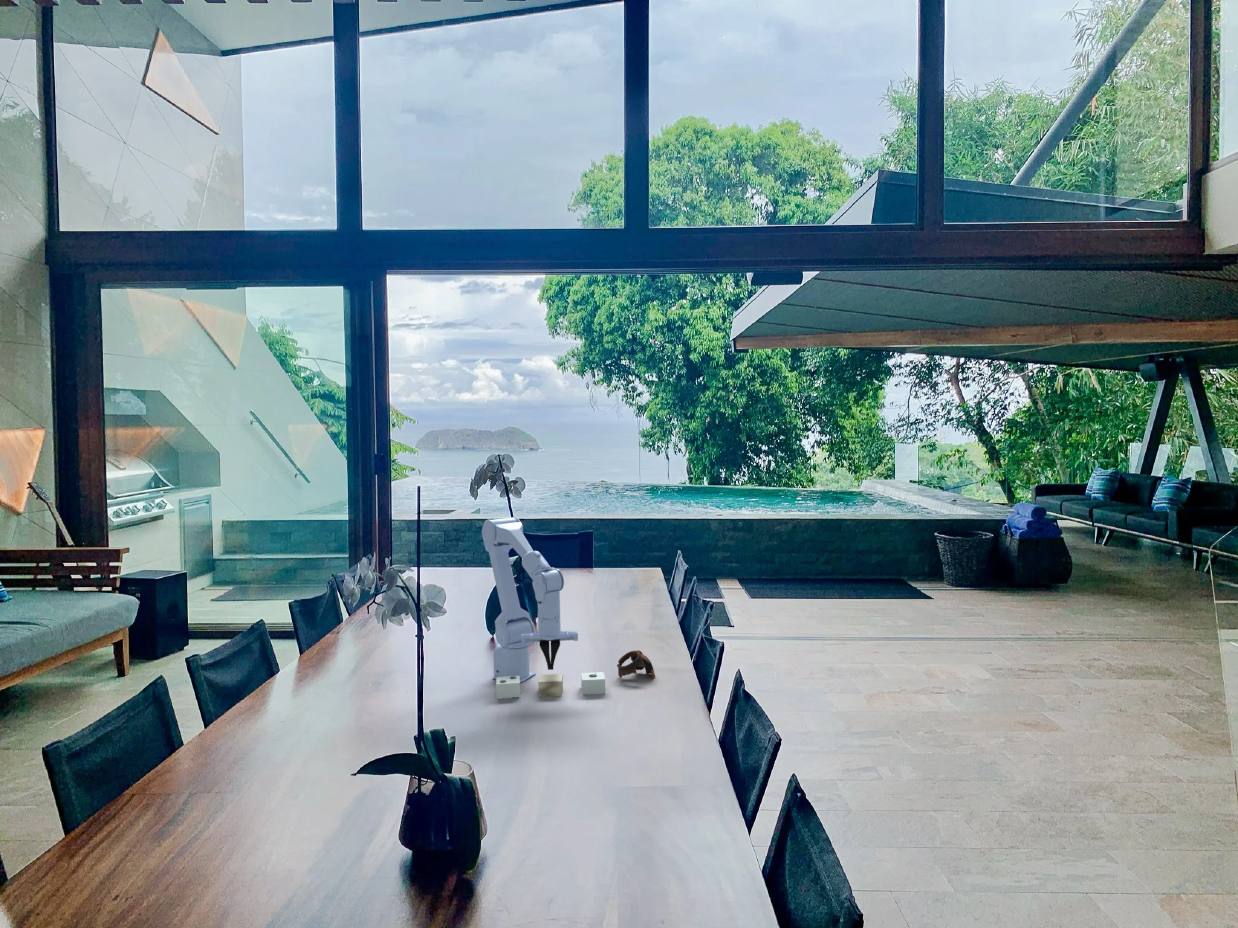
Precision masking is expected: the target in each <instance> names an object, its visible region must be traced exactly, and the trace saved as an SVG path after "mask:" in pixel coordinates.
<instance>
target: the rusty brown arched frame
mask: <svg viewBox="0 0 1238 928" xmlns="http://www.w3.org/2000/svg"><path fill="white" fill-rule="evenodd" d="M629 659H630V660H631V661H632V662H630V663H629V664H627V665H623V664H624V663H625V662H626V661H627V660H629ZM617 662H618V663H617V665H616V667H617V673H618V676H619V678H622V677H623V676H624V677H625V676H627V675H631V674H635V675H638V673H637V671H643V670H645V674H647V675H648V674H650V675H651V678H652V680H654V679H655V678H656V674H655V669H654V666H653V664H652V662H651V660H650V659H649V657H648V656H646V655H645V654H643V652H642V651H641V650H639V649H637V650H631V651H629V652H626V653H625V654H624V655H622V656H621V657H620V658H619V659H618V661H617Z"/></svg>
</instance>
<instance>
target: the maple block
mask: <svg viewBox="0 0 1238 928" xmlns="http://www.w3.org/2000/svg"><path fill="white" fill-rule="evenodd" d="M538 678H539V679H538V682H537V684H538V685H537V686H538V697H563V691H564V675H563V673H562V674H561V673H560V674H559V673H555V674H554V673H553V674H552V673H551V674H540V675H539V677H538Z"/></svg>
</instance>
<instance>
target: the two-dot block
mask: <svg viewBox="0 0 1238 928" xmlns="http://www.w3.org/2000/svg"><path fill="white" fill-rule="evenodd" d="M495 681H496V683H495V684H496V685H495V686H496V688H495V689H496V699H497V700H501V699H503V698H504V699H513V698H512V697H519V698H521V682H520V676H506V677H497V678H496V679H495ZM504 699H503V700H504Z"/></svg>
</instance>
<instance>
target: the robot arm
mask: <svg viewBox="0 0 1238 928" xmlns="http://www.w3.org/2000/svg"><path fill="white" fill-rule="evenodd" d="M481 535H482V540H483V544H484V545H483V546H484V548H485V549H484V550H485V551H486V552H487V553H488V555H489V559H490V564H491V568H492V572H493V577H494V581H495V586H496V591H497V595H498V599H499V604H500V608H501V613H500V614H499V615H498V616H497V618H496V619H495V620H494V627H495V632H494V633H495V638H496V639H495V640H496V642H497V643H498V644H497V645H496V646H495V647H494V651H493V657H492V658H493V660H492V661H493V676H492V679H494V680H496V678H497V677H506V676H520V683H523V682H525V681H526V680H528V679H529V678H532V677H533V676H535V675H536V673H537V672H535V671H530V669H531V667H530V645H532V643H538V642H539V647H540V650H541V652H542V653H543V656H544V658H545V662H546V666H547V671H550V670H554V666H555V661H556V657H557V655H558V652H559V649H560V647H561V641H565V642H566V641H574V642H576V641H577V642H579V634H578V633H579V632H578V631H567V630H566V631H564V630H561V628H562V627H561V594H560V591H562V590H563V589H564V585H565V579H564V575H563V573H562V572H561V570H560V569H558V568H555V567H553V566H552V567H551V566H550V564H549V563H548V561H547V560H546V559H545V557H544V556H543V555H542V554H541V552H539V551H538V550H533V548H532V546H531V545H530V542H529V541H528V539H527V538H526V536H525V535H524V526H523V524H522V522H521V520H520V518H519V517H517V516H512V517H505V518H496V519H486V520H485V521H484V523H483V525H482V529H481ZM512 549H513V550H514V551H515V552H516V553H517V554H518V555H519V557H521V560H522V561H521V566H522V567H523V569H524V570H525V571H526V573H527V574H528V576H529V577H530V579H531V580H532V582H531V583H532V587H533V590H534V594H535V599H536V601H537V617H538V618H537V624H538V627H537V628H538V629H537V630H538V631H536V627H535V623H534V622H533V621H532V617H531V614H530V613H529V612H528V611H527V610H525V609H523V608H522V607H521V603H520V599H519V597H518V596H519V595H518V592H517V586H516V582H515V578H514V574H513V573H514V572H513V568H512V565H511V559H510V556H509V552H510V550H512Z"/></svg>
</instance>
